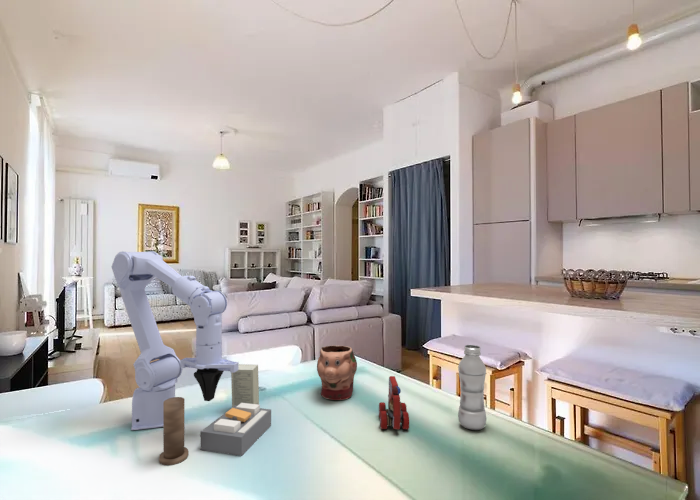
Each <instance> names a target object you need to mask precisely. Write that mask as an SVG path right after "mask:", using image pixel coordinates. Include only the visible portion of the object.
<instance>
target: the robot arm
mask: <svg viewBox="0 0 700 500" xmlns="http://www.w3.org/2000/svg"><path fill="white" fill-rule="evenodd" d="M111 269H112V273H113V275H114V278H115V282H116V284H117V287H118V288H119V289H118V290H119V292H120V296H121V298H122V302H123V305H124V307H125V310H126V313H127V316H128V319H129V322H130V325H131V328H132V331H133V334H134V337H135V339H136V342H137V346H138V348H139V351H140V354H139V355H138V357H137V358H136V360H135V361H134V362H133V367H134V373H135V376H134V378H135V379H134V380H135V383H136V385H137V386H138V387H136V388H135V389H134V391H133V394H132V400H131V431H137V430H147V429H155V428H163V402H164V401H165V400H167V399H169V398H173V397H176V384H177V383H178V379H179V378H180V377H181V375H182V373H183V369H185V368H190V369H196V371H194V373H193V377H194V379H195V380H196V381H197V383H198V385H199V389H200V391H201V393H202V396H203V397H202V398H203V400H204V401H205V402H210V401H212V400H213V399H215V396H216V395H215V394H216V392H217V391H216V390H217V388H218V385H219V383H220V379H221V377H222V375H223V373H224V372H230V374H231V373H234V372H236V371H238V370H239V363H240V362H239V361H233V360H229V359H225V358H223V351H222V350H223V347H222V346H223V339H222V338H223V337H222V335H223V328H222V327H223V316H222V315H223V313H225V311H226V310H227V306H228V299H227V297H226V296H225V294H224V293H223V292H222V291H221V290H218V289H217V290H212V289H210V287H209V286H207V285H206V286H205V285H204V284H202V283H201V282H199V281H198V280H196V279H197V277H195V276H194V275H189V274H188V275H181V274H180V273H178V271H176V269H174V268H173V267H172V266H170V265H169V263H167V262H165V261H164V259H163V256H162V255H160V254H159V253H158V252H156V251H154V250H150V251H123V250H122V251H119V252H117V254H116V255H115V256H114V259H113V262H112V265H111ZM154 278H156V279H158V280H160V281H161V282H163V283H164V284H165V285H168V286H169V287H171V290H172V294H173V295H174V296H175V297H176V298H178V299H179V300H181V301H182V302H183V303H185V304H186V305H187V306H189V308H190V309H189V310H190V311H191V314H192V316H193V319H194V325H195V329H196V330H195V335H196V339H195V346H196V348H195V350H196V351H195V353H196V354H195V355H196V356H195V357H184V358H182V359H180V358H179V357H178V356H177V354H176V352H175V349H174V348H172V347H170V346H167V345H166V344H164V342H163V339H162V335H161V333H160V330H159V328H158V325H157V322H156V319H155V316H154V313H153V310H152V307H151V305H150V301H149V299H148V296H147V294H146V293H147V292H146V290H145V289H146V287H147V286H148V285H149V284H151V282H152V281H153V279H154Z"/></svg>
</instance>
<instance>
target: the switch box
mask: <svg viewBox="0 0 700 500" xmlns="http://www.w3.org/2000/svg"><path fill="white" fill-rule="evenodd" d="M232 408H235V409H239V410H243V411H246V412H250V413H251V417H250V418H248V419H247V420H246V421H245V422H242V421H239V420H238V421H234V420H232V418H229V417H225V414H226V412H228V411H229V410H230V409H232ZM230 409H228V410H227V411H226V412H224V413H223V414H222V415H220V416H219V417H217V418H216V419H214V420H213V421H212V422H211V423H210V424H209V425H207V426H206V427H205V428H203V429H202V430H200V450H201V451H204V452H205V451H206V452H213V453H219V454H224V453H225V454H227V455H231V454H232V455H233V456H237V455H241V456H240V457H242V456H244V454H246V453H247V451H248V450H249V449H250V448H251V447H252V446H253V445H254V444H255V443H256V442H257V441H258V440H260V438H261V437H262V436H263V435H264V434H265V433H266V432H267V430H269V429H270V428H271V426H272V409H270V408H261V405H260V404H259V405H257V404H249V403H241V404H239V405H235V406H234V407H232V406H231V408H230ZM263 433H264V434H263ZM262 434H263V435H262ZM261 435H262V436H261ZM260 436H261V437H260ZM259 437H260V438H259ZM257 439H258V440H257ZM225 454H224V455H225Z"/></svg>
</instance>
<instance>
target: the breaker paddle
mask: <svg viewBox="0 0 700 500" xmlns="http://www.w3.org/2000/svg"><path fill="white" fill-rule="evenodd" d="M231 408H232V407H231ZM231 408H229V409H228V410H229V411H228V410H227V411H228V412H227V411H226V412H225V413H226V414H225V417H229V418H232V420H234V421H238V420H239V421H242V422H245V421H246V420H247V419H248V418H250V417H251V413H250V412H246V411H243V410H239V409H235V408H232V409H231Z"/></svg>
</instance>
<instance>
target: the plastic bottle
mask: <svg viewBox="0 0 700 500" xmlns="http://www.w3.org/2000/svg"><path fill="white" fill-rule="evenodd" d="M463 350H464V351H463V354H464V356H463V357H462V359H461V360H460V361H459V363H458V367H457V368H458V376H459V383H460V384H459V386H460V396H459V397H460V398H459V407H458V414H457V417H458V422H459V423H460V425H461V426H462V427H463V428H465V429H467V430H471V431H472V430H473V431H481V430H483V429H484V428H485V426H486V425H487V412H486V409H485V398H484V393H485V392H484V390H485V381H486V376H487V375H486V373H487V367H486V365H485V363H484V361H483V359H481V358H482V357H480V356H481V346H479V345H475V344H466V345H464V349H463Z"/></svg>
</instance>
